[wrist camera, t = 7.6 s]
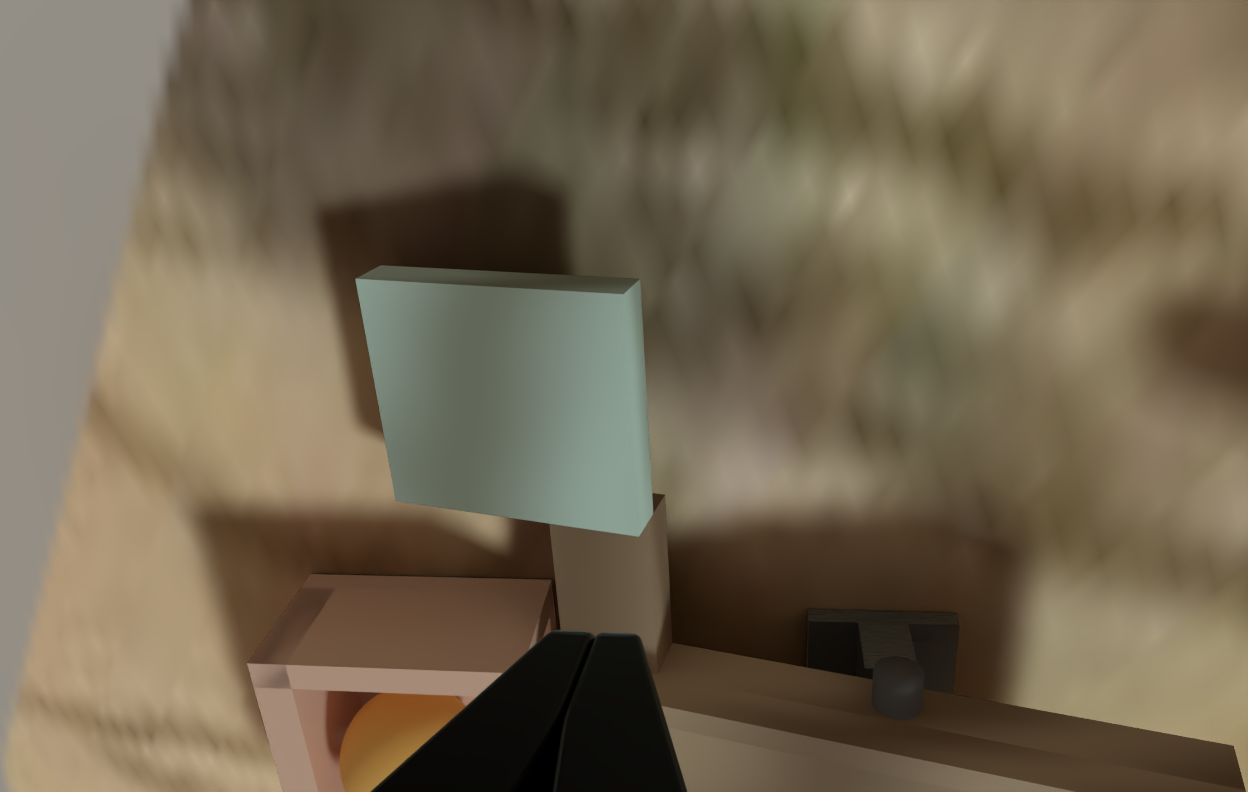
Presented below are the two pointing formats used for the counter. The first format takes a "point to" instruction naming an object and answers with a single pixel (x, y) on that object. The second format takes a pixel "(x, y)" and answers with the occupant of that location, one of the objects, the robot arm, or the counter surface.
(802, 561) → the counter surface
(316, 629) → the dish
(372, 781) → the ball
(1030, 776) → the lever
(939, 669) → the fulcrum
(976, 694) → the counter surface
